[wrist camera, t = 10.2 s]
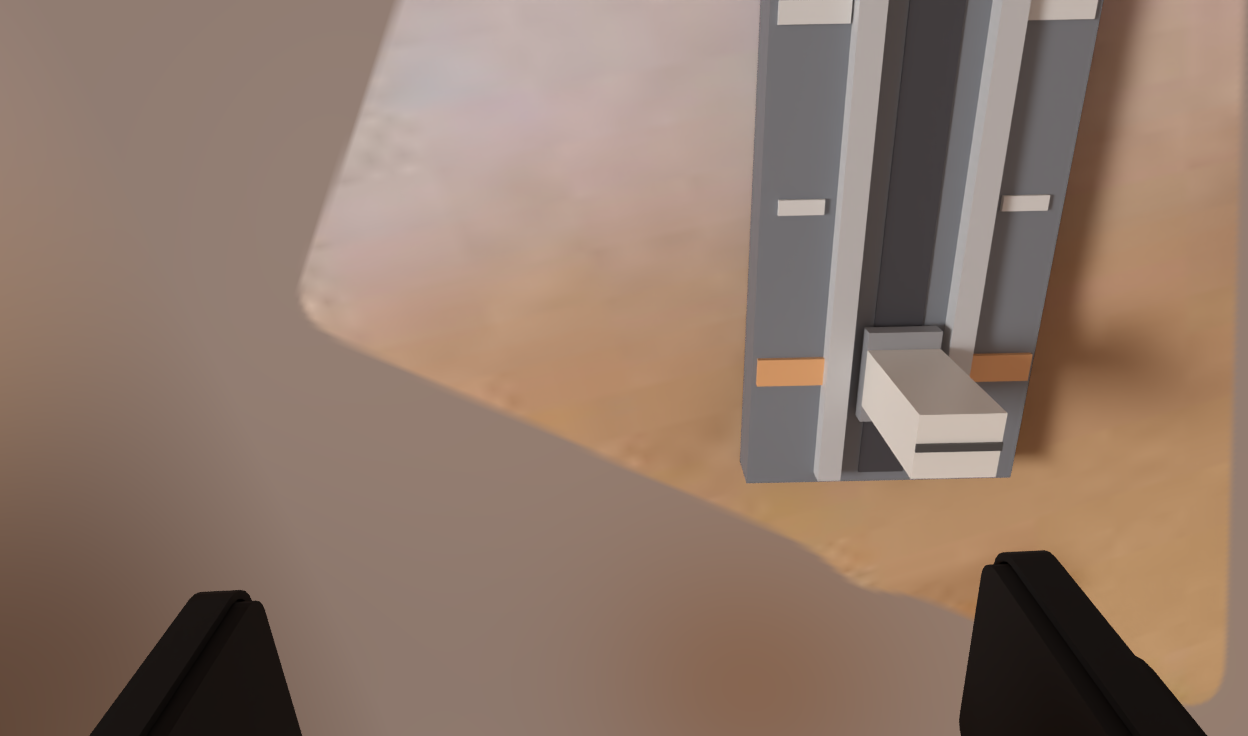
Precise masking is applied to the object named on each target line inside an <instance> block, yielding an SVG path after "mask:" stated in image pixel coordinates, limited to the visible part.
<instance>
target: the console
mask: <svg viewBox="0 0 1248 736" xmlns="http://www.w3.org/2000/svg"><path fill="white" fill-rule="evenodd" d="M1102 5H1103V0H761V4H760V26H759V49H758V71H757V94H756V116H755V138H754V161H753V183H752V205H751V228H750V250H749V273H748V295H747V317H746V340H745V362H744V385H743V407H742V429H741V452H740V463H741V466H742V470H743V473H744V476H745V480H746V483H779V482H824V481H869V480H914V479H910V477H909V476H908V474H907V473H906V471H905V470H904V468H903V467H902V465H901V464H900V462H899V461H898V459H897V458H896V456H895V455H894V453H893V452H892V450H891V449H890V447H889V446H888V444H887V443H886V441H885V440H884V438H883V437H882V435H881V434H880V432H879V431H878V429H877V428H876V426H875V425H874V424H873V422H872V421H869V422H860V421H859V420H858V418H857V416H856V415H855V412H856V402H857V393H858V383H859V374H860V364H861V355H862V345H863V336H864V327H907V326H937V327H939V328H940V329H941V330H942V331H943V336H942V343H941V350H942V351H943V352H944V353H945V354H946V355H948V356H949V357H950V358H951V359H952V360H953V361H954V362H955V363H956V364H957V365H958V366H959V367H960V368H961V369H962V370H963V371H964V372H965V373H966V374H967V375H968V376H969V377H970V378H971V379H973V380H974V381H975V382H976V383H977V384H978V385H979V386H980V387H981V388H982V389H983V390H984V391H985V392H986V393H987V394H988V395H989V396H990V397H991V398H992V399H993V400H994V401H995V402H997V403H998V404H999V405H1000V406H1001V407H1002V408H1003V409H1004V410H1005V411H1006V412H1007V413H1008V414H1007V419H1006V425H1005V430H1004V435H1003V441H1002V442H1003V443H1004V444H1003V449H1002V451H1000V457H999V462H998V467H997V473H996V477H978V478H1003V477H1010V476H1011V471H1012V466H1013V461H1014V456H1015V451H1016V446H1017V441H1018V435H1019V430H1020V425H1021V420H1022V415H1023V410H1024V405H1025V400H1026V394H1027V389H1028V384H1029V379H1030V374H1031V369H1032V364H1033V359H1034V353H1035V348H1036V343H1037V338H1038V333H1039V328H1040V323H1041V318H1042V312H1043V307H1044V302H1045V297H1046V292H1047V287H1048V282H1049V277H1050V271H1051V266H1052V261H1053V256H1054V251H1055V246H1056V241H1057V236H1058V230H1059V225H1060V220H1061V215H1062V210H1063V205H1064V200H1065V195H1066V189H1067V184H1068V179H1069V174H1070V169H1071V164H1072V159H1073V154H1074V148H1075V143H1076V138H1077V133H1078V128H1079V123H1080V118H1081V113H1082V107H1083V102H1084V97H1085V92H1086V87H1087V82H1088V77H1089V72H1090V66H1091V61H1092V56H1093V51H1094V46H1095V41H1096V36H1097V31H1098V25H1099V20H1100V15H1101V10H1102ZM933 479H959V478H933Z"/></svg>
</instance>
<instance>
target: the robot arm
mask: <svg viewBox="0 0 1248 736" xmlns="http://www.w3.org/2000/svg"><path fill="white" fill-rule="evenodd" d="M959 723H960V724H959V725H960V733H961V736H1207V735H1206V734H1205V732H1204V731H1203V730H1202V729H1201V728H1200V726H1199V725H1198V724H1197V723H1196V721H1195V720H1194V719H1193V718H1192V717H1191V715H1190V714H1189V713H1188V712H1187V711H1186V709H1185V708H1184V707H1183V706H1182V704H1181V703H1180V702H1179V701H1178V699H1177V698H1176V697H1175V696H1174V695H1173V693H1172V692H1171V691H1170V690H1169V689H1168V687H1167V686H1166V685H1165V684H1164V682H1163V681H1162V680H1161V679H1160V678H1159V676H1158V675H1157V674H1156V673H1155V671H1154V670H1153V669H1152V668H1151V667H1150V666H1149V665H1148V664H1147V663H1146V662H1145V661H1144V660H1143V659H1141V658H1138V657H1136V656H1135V655H1134V654H1133V652H1132V651H1131V650H1130V649H1129V648H1128V646H1127V645H1126V644H1125V643H1124V641H1123V640H1122V639H1121V638H1120V636H1119V635H1118V634H1117V633H1116V631H1115V630H1114V629H1113V628H1112V627H1111V625H1110V624H1109V623H1108V622H1107V620H1106V619H1105V618H1104V617H1103V615H1102V614H1101V613H1100V612H1099V610H1098V609H1097V608H1096V607H1095V606H1094V604H1093V603H1092V602H1091V601H1090V599H1089V598H1088V597H1087V596H1086V594H1085V593H1084V592H1083V591H1082V589H1081V588H1080V587H1079V586H1078V584H1077V583H1076V582H1075V581H1074V580H1073V578H1072V577H1071V576H1070V575H1069V573H1068V572H1067V571H1066V570H1065V568H1064V567H1063V566H1062V565H1061V563H1060V562H1059V561H1058V560H1057V559H1056V557H1055V556H1054V555H1052V554H1051V553H1050V552H1048V551H1045V550H1042V551H1022V552H1003V553H1000V554H998V556H997V557H996V559H995V562H994V564H993V565H986V566H985V567H984V568H983V570H982V574H981V580H980V587H979V593H978V600H977V606H976V613H975V619H974V626H973V632H972V639H971V645H970V652H969V658H968V665H967V671H966V678H965V685H964V690H963V697H962V703H961V710H960V718H959ZM90 736H302V734H301V730H300V727H299V723H298V720H297V717H296V714H295V710H294V707H293V704H292V700H291V697H290V693H289V690H288V686H287V683H286V680H285V676H284V673H283V670H282V666H281V663H280V660H279V656H278V653H277V650H276V646H275V643H274V639H273V636H272V633H271V629H270V626H269V622H268V619H267V616H266V613H265V609H264V607H263V605H262V604H261V603H260V602H259V601H252V600H251V598H250V595H249V594H248V593H246V591H242V590H233V591H213V592H199V593H197V594H194V595H193V597H191V598H190V599H189V601H188V602H187V603H186V605H185V606H184V607H183V609H182V610H181V612H180V613H179V614H178V616H177V617H176V618H175V620H174V621H173V622H172V624H171V625H170V626H169V628H168V629H167V631H166V632H165V633H164V635H163V636H162V637H161V639H160V640H159V642H158V643H157V644H156V646H155V647H154V649H153V650H152V651H151V652H150V654H149V655H148V656H147V658H146V659H145V661H144V662H143V663H142V665H141V666H140V667H139V669H138V670H137V672H136V673H135V674H134V676H133V677H132V678H131V680H130V681H129V682H128V684H127V685H126V687H125V688H124V689H123V691H122V692H121V693H120V695H119V696H118V698H117V699H116V700H115V702H114V703H113V704H112V706H111V707H110V708H109V710H108V711H107V712H106V714H105V715H104V716H103V718H102V719H101V721H100V722H99V723H98V725H97V726H96V727H95V729H94V730H93V731H92V733H91V734H90Z"/></svg>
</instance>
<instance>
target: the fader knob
mask: <svg viewBox="0 0 1248 736" xmlns="http://www.w3.org/2000/svg"><path fill="white" fill-rule="evenodd" d="M942 336H943V331H942V330H941V329H940V328H939V327H937V326H907V327H864V336H863V345H862V355H861V364H860V374H859V383H858V393H857V402H856V412H855V415H856V416H857V418H858V420H859V421H860V422H869V421H872V422H873V424H874V425H875V426H876V428H877V429H878V431H879V432H880V434H881V435H882V437H883V438H884V440H885V441H886V443H887V444H888V446H889V447H890V449H891V450H892V452H893V453H894V455H895V456H896V458H897V459H898V461H899V462H900V464H901V465H902V467H903V468H904V470H905V471H906V473H907V474H908V476H909V477H910V479H933V478H978V477H996V473H997V467H998V462H999V457H1000V451H1002V449H1003V444H1004V443H1003V442H1002V441H1003V435H1004V430H1005V425H1006V419H1007V414H1008V413H1007V412H1006V411H1005V410H1004V409H1003V408H1002V407H1001V406H1000V405H999V404H998V403H997V402H995V401H994V400H993V399H992V398H991V397H990V396H989V395H988V394H987V393H986V392H985V391H984V390H983V389H982V388H981V387H980V386H979V385H978V384H977V383H976V382H975V381H974V380H973V379H971V378H970V377H969V376H968V375H967V374H966V373H965V372H964V371H963V370H962V369H961V368H960V367H959V366H958V365H957V364H956V363H955V362H954V361H953V360H952V359H951V358H950V357H949V356H948V355H946V354H945V353H944V352H943V351H942V350H941V343H942Z"/></svg>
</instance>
